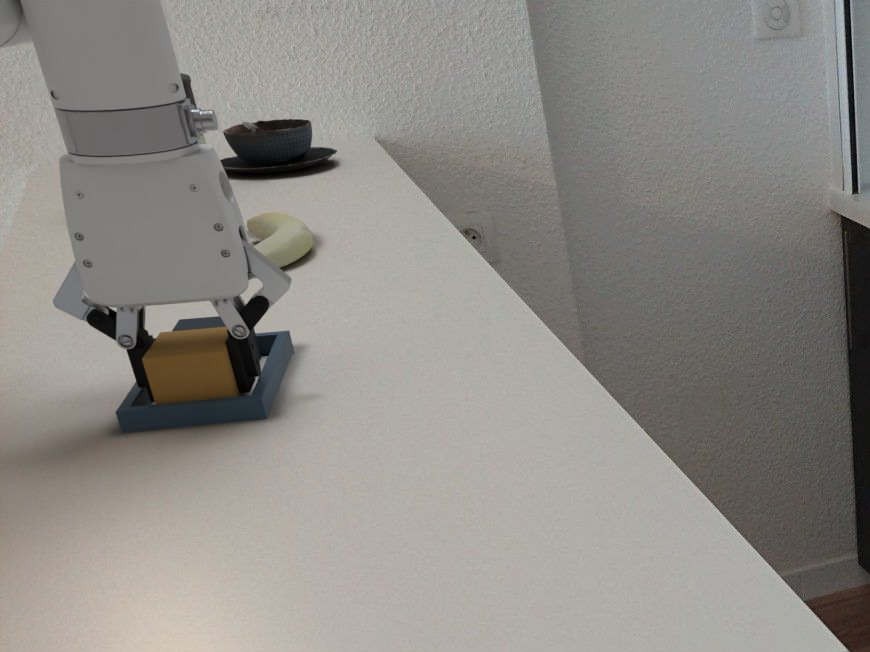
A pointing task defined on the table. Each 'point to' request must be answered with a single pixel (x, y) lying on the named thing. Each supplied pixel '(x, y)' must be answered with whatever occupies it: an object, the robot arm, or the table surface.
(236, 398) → the frame
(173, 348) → the orange block
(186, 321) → the dark gray block
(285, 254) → the fruit
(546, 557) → the table surface
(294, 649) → the table surface
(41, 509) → the table surface
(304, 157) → the soup bowl
